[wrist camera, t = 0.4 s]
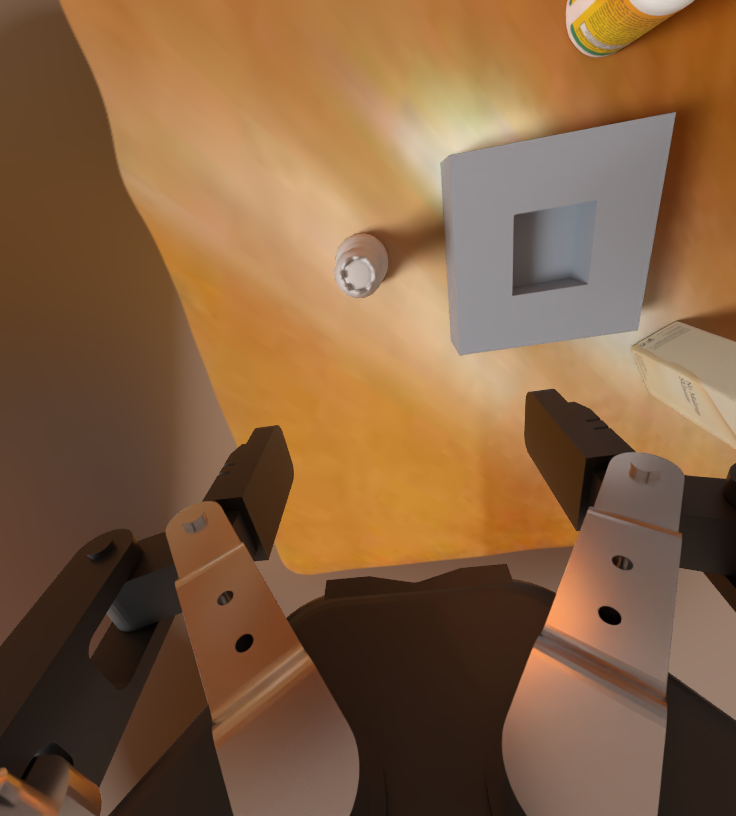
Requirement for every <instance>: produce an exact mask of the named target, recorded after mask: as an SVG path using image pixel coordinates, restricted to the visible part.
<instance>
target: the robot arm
mask: <svg viewBox="0 0 736 816" xmlns="http://www.w3.org/2000/svg"><path fill="white" fill-rule="evenodd" d="M524 437H525V444H526V448H527V451H528V453H529V455H530V457H531V458H532V460H533V461H534V463H535V465H536V466H537V468H538V470H539V471H540V473H541V474H542V476H543V478H544V479H545V481H546V483H547V484H548V486H549V487H550V489H551V491H552V492H553V494H554V495H555V497H556V499H557V500H558V502H559V504H560V505H561V507H562V508H563V510H564V512H565V513H566V515H567V517H568V518H569V520H570V521H571V523H572V525H573V526H574V528H575V529H576V531H580V532H579V535H578V538H577V540H576V543H575V546H574V548H573V551H572V554H571V556H570V559H569V562H568V564H567V567H566V570H565V572H564V575H563V578H562V580H561V583H560V586H559V589H558V591H557V593H555V592H553V591H550V590H548V589H546V588H544V587H541V586H538V585H535V584H532V583H529V582H525V581H521V580H516V579H512V577H511V575H510V572H509V569H508V566H507V564H501V565H490V566H479V567H468V568H460V569H457V570H454V571H451V572H448V573H445V574H442V575H439V576H436V577H433V578H430V579H427V580H424V581H421V582H416V583H411V582H404V581H397V580H390V579H384V578H377V577H370V576H368V577H357V578H347V579H335V580H327V582H326V589H325V595H324V596H322V597H319V598H317V599H314V600H312V601H310V602H308V603H307V604H305V605H303V606H302V607H300V608H298V609H297V610H296V611H295V612H293V613H292V614H290V615H289V616H288V617H287V618H286V617H285V615H284V614H283V612H282V610H281V608H280V606H279V605H278V603H277V601H276V599H275V598H274V596H273V594H272V592H271V591H270V589H269V587H268V585H267V584H266V582H265V580H264V578H263V577H262V575H261V573H260V572H259V569H258V568H257V566H256V564H255V562H254V561H262V560H269V556H270V553H271V550H272V547H273V544H274V540H275V537H276V534H277V531H278V528H279V524H280V521H281V518H282V515H283V512H284V508H285V505H286V502H287V499H288V495H289V492H290V489H291V486H292V483H293V478H294V470H293V464H292V460H291V457H290V454H289V451H288V448H287V445H286V442H285V438H284V435H283V432H282V430H281V428H280V426H278V425H275V426H268V427H260V428H256V429H255V430H254V431H253V433H252V435H251V436H250V438H249V440H248V442H247V444H242V445H241V446H240V447H238V448H237V449H236V450H235V451H234V452H233V453H231V454H230V456H229V458H228V459H227V461H226V463H225V465H224V467H223V468H222V469H221V471H220V473H219V475H218V476H217V478H216V480H215V481H214V483H213V484H212V486H211V488H210V489H209V491H208V493H207V494H206V496H205V498H204V499H203V501H202V502H200V503H196V504H193V505H191V506H189V507H187V508H186V509H184V510H182V511H181V512H179V513H178V514H177V515H176V516H175V517H174V518H173V519H172V520H171V521H170V522H169V524H168V525H167V528H166V532H164V533H160V534H157V535H154V536H151V537H149V538H145V539H142V540H140V541H137V540H136V538H135V537H134V535H133V534H132V532H131V531H130V530H127V529H116V530H112V531H109V532H107V533H104V534H102V535H100V536H98V537H96V538H94V539H93V540H91V541H90V542H88V543H87V544H86V545H84V546H83V547H82V548H81V549H80V550H79V551H78V552H77V553H76V554H75V555H74V556H73V558H72V559H71V560H70V561H69V563H68V564H67V565H66V566H65V567H64V569H63V570H62V571H61V572H60V574H59V575H58V576H57V577H56V579H55V580H54V581H53V582H52V583H51V585H50V586H49V587H48V588H47V590H46V591H45V592H44V593H43V594H42V596H41V597H40V598H39V599H38V601H37V602H36V603H35V604H34V606H33V607H32V608H31V609H30V611H29V612H28V613H27V614H26V615H25V617H24V618H23V619H22V620H21V621H20V623H19V624H18V625H17V626H16V628H15V629H14V630H13V631H12V633H11V634H10V635H9V636H8V637H7V639H6V640H5V641H4V642H3V644H2V645H1V646H0V816H100V813H101V806H102V799H101V793H100V790H99V787H100V784H101V782H102V780H103V778H104V775H105V773H106V771H107V769H108V766H109V764H110V762H111V760H112V757H113V755H114V752H115V750H116V748H117V746H118V744H119V741H120V739H121V737H122V735H123V732H124V730H125V728H126V725H127V723H128V721H129V719H130V717H131V714H132V712H133V710H134V708H135V705H136V703H137V701H138V698H139V696H140V694H141V692H142V689H143V687H144V685H145V683H146V680H147V678H148V676H149V673H150V671H151V669H152V667H153V664H154V662H155V660H156V658H157V655H158V653H159V651H160V649H161V646H162V644H163V642H164V639H165V637H166V635H167V633H168V631H169V628H170V626H171V624H172V621H173V619H174V617H175V615H176V614H179V613H182V612H183V616H184V619H185V623H186V626H187V630H188V633H189V637H190V640H191V644H192V648H193V651H194V655H195V658H196V662H197V665H198V669H199V673H200V676H201V680H202V683H203V687H204V690H205V694H206V697H207V701H208V705H207V706H206V707H205V708H204V709H203V711H202V712H201V713H200V714H199V715H198V716H197V717H196V718H195V719H194V721H193V722H192V723H191V724H190V725H189V726H188V727H187V728H186V730H185V731H184V732H183V733H182V734H181V735H180V736H179V737H178V738H177V740H176V741H175V742H174V743H173V744H172V745H171V746H170V747H169V748H168V750H167V751H166V752H165V753H164V754H163V755H162V756H161V757H160V758H159V760H158V761H157V762H156V763H155V764H154V765H153V766H152V767H151V769H150V770H149V771H148V772H147V773H146V774H145V775H144V776H143V777H142V779H141V780H140V781H139V782H138V783H137V784H136V785H135V786H134V788H133V789H132V790H131V791H130V792H129V793H128V794H127V796H125V798H124V799H123V800H122V801H121V802H120V803H119V804H118V805H117V807H116V808H115V809H114V810H113V811H112V812H111V813H110V814H109V815H108V816H736V720H734V719H733V718H731V717H730V716H729V715H727V714H726V713H724V712H723V711H722V710H720V709H719V708H717V707H716V706H715V705H713V704H712V703H711V702H709V701H708V700H706V699H705V698H704V697H702V696H701V695H699V694H698V693H697V692H695V691H694V690H693V689H691V688H690V687H688V686H687V685H686V684H684V683H683V682H681V681H680V680H679V679H677V678H676V677H674V676H673V675H671V674H670V673H669V672H668V667H669V658H670V649H671V639H672V630H673V619H674V611H675V602H676V592H677V583H678V573H679V568H684V569H690V570H696V571H702V572H703V573H704V574H705V575H706V576H707V577H708V579H709V580H710V581H711V582H712V584H713V585H714V586H715V587H716V589H717V590H718V591H719V592H720V593H721V595H722V596H723V597H724V598H725V600H726V601H727V602H728V603H729V605H730V606H731V607H732V608H733V609H734V611H735V612H736V464H734V465H732V466H731V468H730V470H729V472H728V475H727V478H726V479H720V478H708V477H697V476H687V475H684V474H683V472H682V471H681V469H680V468H679V467H678V466H677V465H675V464H674V463H672V462H670V461H669V460H667V459H664V458H662V457H659V456H656V455H652V454H647V453H640V452H635V451H634V450H633V449H632V448H631V447H630V446H629V445H628V444H627V443H626V442H625V441H624V440H623V439H621V438H620V437H619V436H618V435H617V434H616V433H615V432H614V431H613V430H612V429H611V428H608V425H607V424H606V423H604V422H603V421H602V420H600V418H599V417H598V416H597V415H596V414H595V413H594V412H593V411H592V410H591V409H589V408H587V407H585V406H582V405H580V404H578V403H576V402H569V403H568V402H567V401H566V400H565V399H564V398H563V397H562V396H561V395H560V394H559V393H558V392H557V391H556V390H555V389H548V390H540V391H533V392H528V393H527V395H526V404H525V432H524ZM106 614H107V615H108V616H109V618H110V619H111V620H112V623H111V625H110V627H109V628H108V630H107V632H106V633H105V635H104V637H103V639H102V640H101V642H100V643H99V645H98V647H97V649H96V650H95V652H94V654H93V655H92V657H91V659H90V658H89V652H88V651H89V644H90V641H91V638H92V636H93V634H94V632H95V631H96V629H97V627H98V626H99V624H100V623H101V621H102V619H103V618H104V616H105V615H106Z"/></svg>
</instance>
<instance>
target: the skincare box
mask: <svg viewBox="0 0 736 816" xmlns="http://www.w3.org/2000/svg"><path fill="white" fill-rule="evenodd" d="M631 349H632V352H633V355H634V357H635V360H636V362H637V365H638V367H639V370H640V372H641V374H642V377H643V379H644V381H645V384H646V386H647V388H648V390H649V393H650V394H651V395H652V396H654V397H655V398H657V399H658V400H660V401H661V402H663V403H665V404H666V405H668V406H669V407H671V408H672V409H674V410H675V411H677V412H678V413H680V414H682V415H683V416H685V417H686V418H688V419H689V420H691V421H692V422H694V423H696V424H697V425H699V426H700V427H702V428H703V429H705V430H707V431H708V432H710V433H711V434H713V435H714V436H716V437H718V438H719V439H721V440H722V441H724V442H725V443H727V444H728V445H730V446H732V447H733V448H735V449H736V342H735V341H733V340H730V339H727V338H724V337H721V336H718V335H716V334H713V333H710V332H707V331H704V330H701V329H699V328H696V327H693V326H690V325H687V324H684V323H682V322H679V321H676V322H674V323H672V324H671V325H669V326H667V327H665V328H663V329H661V330H660V331H658V332H656V333H654V334H653V335H651V336H649V337H647V338H646V339H644V340H642V341H640V342H639V343H637V344H636V345H634V346H632V347H631Z"/></svg>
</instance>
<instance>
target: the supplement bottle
mask: <svg viewBox="0 0 736 816" xmlns="http://www.w3.org/2000/svg"><path fill="white" fill-rule="evenodd" d="M693 1H695V0H568V1H567V7H566V26H567V30H568V34H569V37H570V39H571V41H572V42H573V44H574V45H575V46H576V47H577V49H578V50H580V51H581V52H582V53H583V54H585V55H587V56H591V57H605V56H608V55H611V54H614V53H616V52H617V51H619V50H621V49H622V48H624V47H626V46H627V45H629V44H630V43H632V42H633V41H635V40H636V39H638V38H640V37H641V36H642V35H644V34H645V33H647V32H648V31H650V30H651V29H653V28H654V27H656V26H657V25H659V24H660V23H662V22H663V21H665V20H667V19H668V18H670V17H671V16H673V15H674V14H676V13H677V12H679V11H680V10H682V9H683V8H685V7H686V6H688V5H689V4H691V3H692V2H693Z"/></svg>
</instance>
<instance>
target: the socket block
mask: <svg viewBox="0 0 736 816" xmlns="http://www.w3.org/2000/svg"><path fill="white" fill-rule="evenodd" d="M675 115H676V112H673V113H668V114H663V115H657V116H652V117H647V118H642V119H637V120H631V121H626V122H621V123H616V124H610V125H605V126H600V127H595V128H589V129H584V130H579V131H574V132H569V133H563V134H558V135H553V136H548V137H542V138H537V139H532V140H527V141H521V142H516V143H511V144H506V145H500V146H495V147H490V148H485V149H480V150H474V151H469V152H464V153H459V154H453V155H449V156H448V157H447V158H446V159H444V160H443V161H442V162H441V177H442V194H443V211H444V228H445V245H446V262H447V279H448V296H449V313H450V330H451V341H452V343H453V345H454V347H455V348H456V350H457V352H458V354H459V355H466V354H473V353H480V352H487V351H494V350H501V349H508V348H516V347H523V346H530V345H537V344H544V343H551V342H558V341H565V340H572V339H580V338H587V337H594V336H601V335H608V334H615V333H622V332H629V331H637V330H638V326H639V321H640V315H641V309H642V304H643V298H644V292H645V287H646V281H647V275H648V269H649V264H650V258H651V252H652V247H653V241H654V235H655V229H656V224H657V218H658V212H659V207H660V201H661V195H662V190H663V184H664V178H665V172H666V167H667V161H668V155H669V150H670V144H671V138H672V132H673V127H674V121H675Z"/></svg>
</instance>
